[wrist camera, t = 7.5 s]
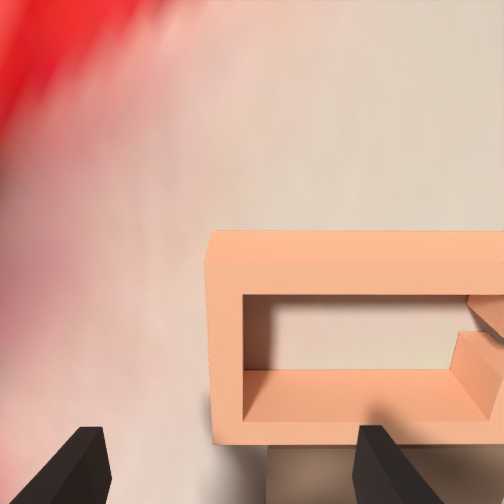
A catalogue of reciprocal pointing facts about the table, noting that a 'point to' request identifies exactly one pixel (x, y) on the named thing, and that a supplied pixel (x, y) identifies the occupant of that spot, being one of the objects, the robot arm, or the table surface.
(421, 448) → the stand base
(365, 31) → the table surface
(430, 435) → the c link
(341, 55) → the table surface
